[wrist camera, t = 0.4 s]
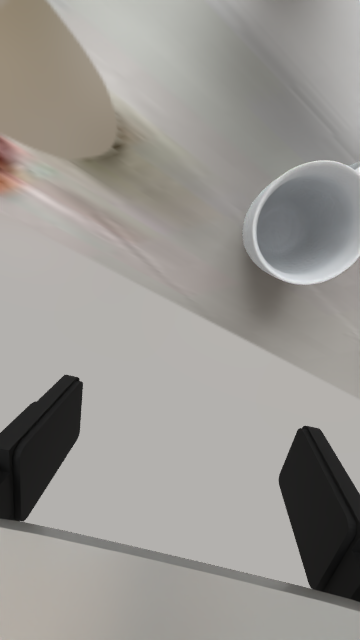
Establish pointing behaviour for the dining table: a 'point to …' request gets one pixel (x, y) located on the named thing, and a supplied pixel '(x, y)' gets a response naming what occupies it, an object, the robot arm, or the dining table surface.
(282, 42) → the dining table surface
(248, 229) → the mug
